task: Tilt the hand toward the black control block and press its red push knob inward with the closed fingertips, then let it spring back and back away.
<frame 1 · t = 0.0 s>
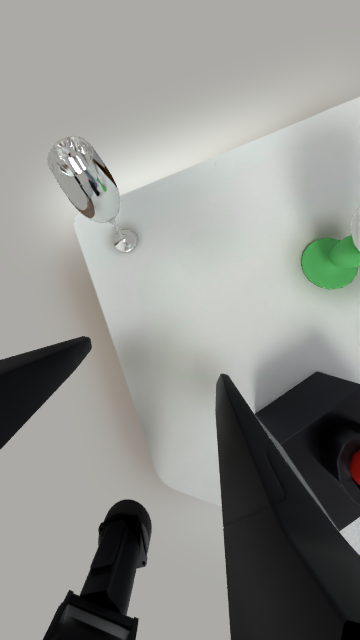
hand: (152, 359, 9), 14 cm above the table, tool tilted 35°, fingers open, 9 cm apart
control block: (306, 421, 20), on the table
wineglass: (126, 241, 25), on the table
cup: (327, 264, 23), on the table
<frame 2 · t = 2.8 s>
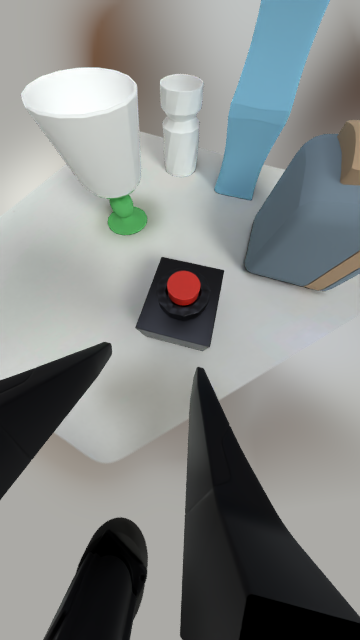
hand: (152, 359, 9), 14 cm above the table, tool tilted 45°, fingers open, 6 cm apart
control block: (182, 311, 24), on the table
cup: (128, 221, 31), on the table
vase: (235, 185, 36), on the table
button: (183, 288, 17), point 8 cm above the table, slide at 0.1 cm
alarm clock: (283, 254, 29), on the table
vase 2: (180, 168, 38), on the table
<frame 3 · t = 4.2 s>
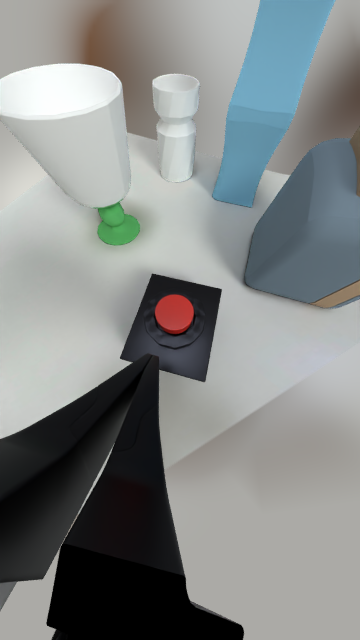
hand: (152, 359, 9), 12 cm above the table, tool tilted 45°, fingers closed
control block: (176, 331, 22), on the table
cup: (119, 230, 29), on the table
vase: (234, 191, 34), on the table
button: (174, 314, 15), point 8 cm above the table, slide at 0.1 cm
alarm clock: (286, 267, 27), on the table
vase 2: (176, 173, 36), on the table
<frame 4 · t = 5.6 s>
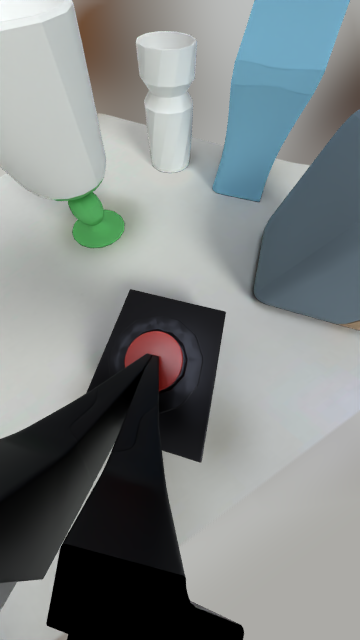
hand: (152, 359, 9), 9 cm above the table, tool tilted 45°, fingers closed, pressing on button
control block: (165, 361, 17), on the table
cup: (99, 229, 24), on the table
vase: (238, 183, 28), on the table
button: (155, 359, 10), point 7 cm above the table, slide at -0.4 cm, touching gripper
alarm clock: (304, 275, 21), on the table
vase 2: (170, 162, 31), on the table
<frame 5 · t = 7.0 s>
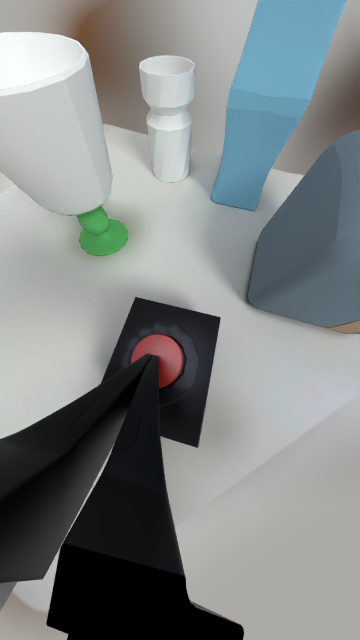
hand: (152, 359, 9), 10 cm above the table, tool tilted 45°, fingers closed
control block: (166, 361, 19), on the table
cup: (104, 237, 26), on the table
vase: (235, 192, 30), on the table
button: (158, 359, 11), point 8 cm above the table, slide at 0.1 cm
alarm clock: (296, 281, 23), on the table
vase 2: (171, 172, 32), on the table
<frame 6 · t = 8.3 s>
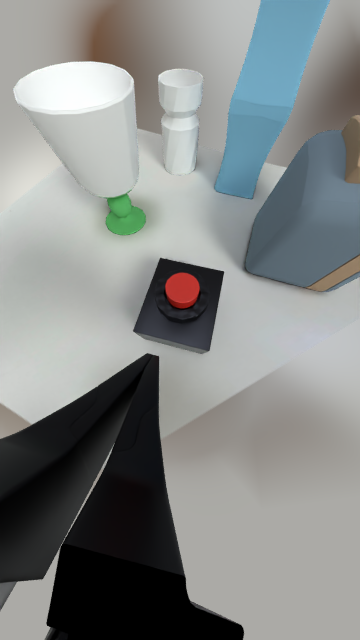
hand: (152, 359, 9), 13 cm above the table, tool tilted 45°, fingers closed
control block: (181, 313, 24), on the table
cup: (126, 221, 31), on the table
vase: (235, 183, 35), on the table
button: (182, 290, 16), point 8 cm above the table, slide at 0.1 cm
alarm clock: (284, 255, 28), on the table
vase 2: (180, 166, 37), on the table
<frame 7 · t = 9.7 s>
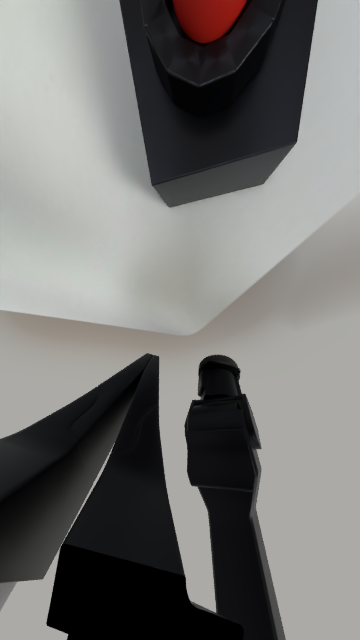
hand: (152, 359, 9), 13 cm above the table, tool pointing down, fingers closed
control block: (209, 112, 12), on the table
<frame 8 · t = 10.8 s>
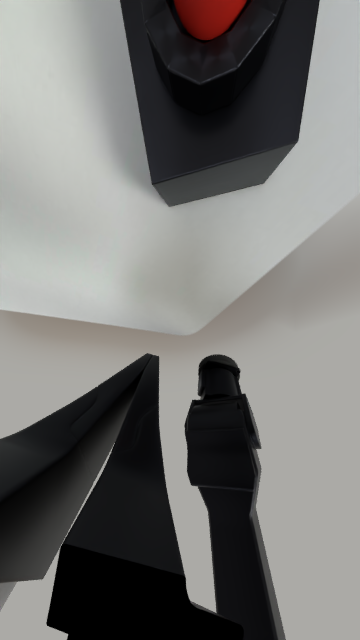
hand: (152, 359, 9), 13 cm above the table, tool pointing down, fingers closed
control block: (210, 111, 12), on the table
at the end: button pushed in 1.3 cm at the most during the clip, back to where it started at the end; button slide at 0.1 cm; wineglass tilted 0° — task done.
